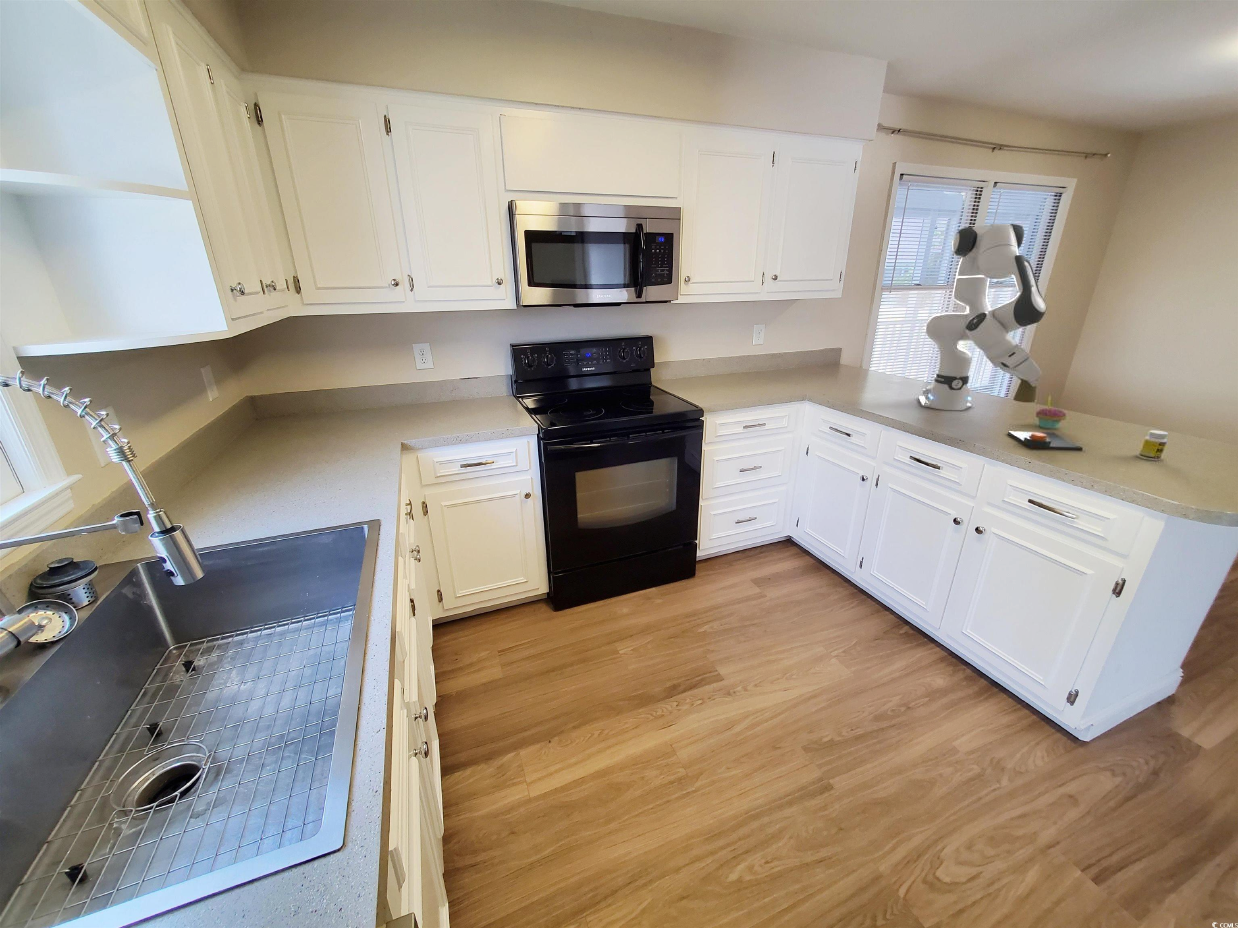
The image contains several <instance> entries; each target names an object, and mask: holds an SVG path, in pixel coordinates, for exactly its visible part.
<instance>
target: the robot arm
mask: <svg viewBox="0 0 1238 928" xmlns="http://www.w3.org/2000/svg"><path fill="white" fill-rule="evenodd" d="M1024 240H1025V229H1024V226H1023V225H1020V224H1017V223H1010V224H1007V223H1006V224H1005V223H993V224H986V225H978V226H966V227H963V228H960V229H959V230H958V231H957V232H956V233H955V235H954V237H953V238H952V242H951V249H952V250H951V251H952V253H953V255H954V256H956V257H959V258H960V261H959V265H958V268H957V271H956V276H955V281H954V286H953V292H952V298H953V300H954V301H955V302H956V303H958V304H961V305H963V306H964V307H966V308H967V312H964V313H963V312H961V313H960V312H956V313H955V312H951V313H949V312H947V313H940V314H935V315H933V316H931V317H930V318H929V320H928V321H927V323H926V325H925V333H926V336H927V338H929V339H930V340H931V341H932V342H934V344H935V345H936V347H937V348H938V352H939V363H938V369H937V372H936V375H935V376H934V379H933V381H932V383H930V384H929V385H928V386H927V387H926V388H923V391H922V394H923V395H924V396H919V397H918V398H917V399H918V401H919V403H920V406H921V407H925V408H931V409H936V410H942V411H963V410H966V409H969V408H971V407H972V404H971V403H969V401H972V397H970V395H971V394H970V393H971V388H970V387H969V385H968V384H969V381H970V370H971V365H972V362H973V357H972V355H971V353H970V352H969V351H967V350H965V349H963V348H960V347H959V345H958V343H959V342H972V343H973V344H974V345H975V346H976V347H977V349H979V350H981V351H982V352H983V354H984V356H985V358H986V359H987V360H988V361H989V362H990V363H991V364H992V365H993V367H996V368H999V369H1000V370H1001V371H1002V372H1004V373H1006V374H1009V375H1011V376H1014V377H1016V378H1017V379H1018V380H1020V381H1021V380H1022V379H1024V380H1027V381H1028V383H1029V384H1030V385H1031V386H1033V387H1034V386H1036V385H1037V386H1038V385H1039V382H1038V379H1040V378H1042V376H1043V372H1042V371H1040V370H1041V369H1040V367H1039V366H1038V365H1037V364H1036V362H1035V361H1034V360H1033V358H1031V357H1030V356H1031V353H1030V352H1029V351H1027V350H1026V349H1025V348H1023V347H1022V346H1021V345H1020V344H1019V343H1018V342H1017V341H1016V340H1015V339H1014V338H1013V337H1012V336H1010V335H1009V333H1012V332H1014V331H1017V330H1019V329H1021V328H1025V327H1029V326H1032V325H1036V324H1038V323H1039V322H1041V321H1042V319H1043V318H1044V316H1045V314H1046V313H1047V309H1048V307H1047V303H1046V301H1045V299H1044V297H1043V296H1042V293H1041V291H1040V287H1039V284H1038V281H1037V278H1036V275H1035V271H1034V268H1033V266H1032V263H1031V261H1030V260H1029V259H1028V257H1026V256H1025V255H1023V254H1019V249H1020V248H1021V246H1022V245H1023V242H1024ZM1007 279H1014V281H1015V282H1014V283H1015V284H1016V288H1017V289H1016V290H1017V292H1018V294H1017V295H1016V297H1014V298H1013V299H1011V300H1010V301H1009V300H1008V301H1007V302H1005V303H1003V304H1001V305H998V306H996V307H994V308H992V309H991V307H990V305H989V303H988V296H987V295H988V287H989V281H990V280H993V281H1003V280H1007ZM1036 380H1037V381H1036Z"/></svg>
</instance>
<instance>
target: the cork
mask: <svg viewBox="0 0 1238 928" xmlns="http://www.w3.org/2000/svg"><path fill="white" fill-rule="evenodd" d="M1040 371H1041V369H1040ZM1041 372H1042V371H1041ZM1036 381H1037V382H1038V379H1037V380H1036ZM1037 387H1038V385H1036V386H1034V387H1033V386H1031V385H1030V384H1029V383H1028V381H1027V380H1024V379H1022V380H1020V382H1019V385H1018V386H1017V389H1016V391H1015V394H1014V396H1013V399H1012V400H1013V401H1015V402H1019V403H1035V402H1036V396H1037Z"/></svg>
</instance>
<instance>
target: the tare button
mask: <svg viewBox="0 0 1238 928" xmlns="http://www.w3.org/2000/svg"><path fill="white" fill-rule="evenodd" d="M1033 432H1034V433H1031V437H1030V438H1031V439H1034V440H1046V437H1047V435H1046V434H1044V433H1037V432H1038V431H1033Z"/></svg>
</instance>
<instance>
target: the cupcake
mask: <svg viewBox="0 0 1238 928" xmlns="http://www.w3.org/2000/svg"><path fill="white" fill-rule="evenodd" d="M1051 397H1052V396H1051V395H1050V394H1048V396H1047V407H1045V408H1041V409H1038V411H1036V413H1035V417H1036V418H1037V420H1038V426H1039V427H1040V428H1044V429H1056V428H1057V426H1058V425H1059V424H1060V423H1061V422H1062V421H1065V420H1066V419H1067V414H1066V412H1065V411H1064V410H1062V409H1060V408H1055V407H1051V399H1052V398H1051Z"/></svg>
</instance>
